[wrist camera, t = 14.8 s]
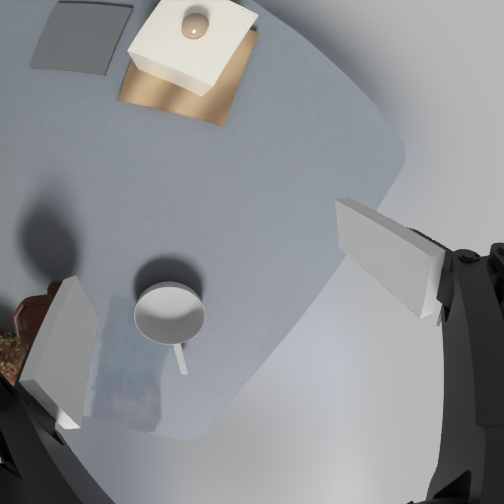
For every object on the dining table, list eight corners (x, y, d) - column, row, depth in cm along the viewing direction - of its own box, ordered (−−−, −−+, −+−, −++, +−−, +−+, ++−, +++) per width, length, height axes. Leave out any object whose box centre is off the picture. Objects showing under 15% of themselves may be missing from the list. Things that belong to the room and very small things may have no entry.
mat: (31, 67, 24) (29, 67, 24) (57, 4, 21) (56, 3, 20) (105, 75, 28) (104, 74, 28) (133, 9, 25) (132, 8, 25)
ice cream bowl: (40, 254, 35) (-1, 312, 22) (102, 285, 40) (83, 354, 27) (28, 305, 38) (-3, 368, 24) (84, 333, 42) (68, 401, 29)
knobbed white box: (138, 69, 29) (125, 47, 19) (174, 12, 26) (178, -27, 16) (201, 96, 32) (215, 84, 22) (236, 39, 30) (263, 10, 20)
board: (119, 100, 31) (117, 100, 29) (156, 7, 26) (156, 4, 25) (221, 126, 36) (223, 126, 35) (256, 35, 31) (258, 32, 30)
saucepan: (197, 269, 44) (200, 282, 40) (211, 355, 51) (215, 369, 48) (128, 280, 41) (125, 294, 38) (154, 363, 49) (155, 379, 46)
